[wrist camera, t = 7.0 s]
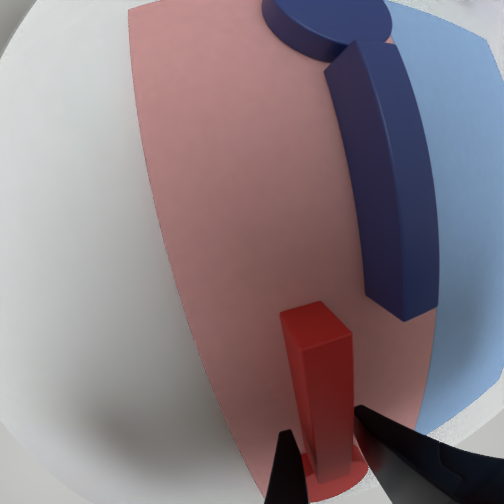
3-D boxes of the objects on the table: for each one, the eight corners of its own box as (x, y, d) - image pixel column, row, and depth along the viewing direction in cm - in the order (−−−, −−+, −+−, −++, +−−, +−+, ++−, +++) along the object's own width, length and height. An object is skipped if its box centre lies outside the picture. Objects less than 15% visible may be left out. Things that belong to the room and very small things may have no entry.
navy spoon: (249, -20, 5) (258, -61, 3) (351, -13, 5) (376, -43, 3) (326, 307, 7) (360, 342, 5) (424, 273, 8) (467, 292, 6)
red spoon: (356, 468, 10) (371, 496, 8) (286, 491, 9) (295, 522, 7) (359, 287, 7) (399, 314, 5) (233, 322, 7) (241, 365, 5)
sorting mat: (495, 376, 11) (499, 379, 11) (262, 492, 10) (263, 498, 9) (481, 42, 7) (486, 40, 6) (130, 15, 5) (127, 9, 5)
